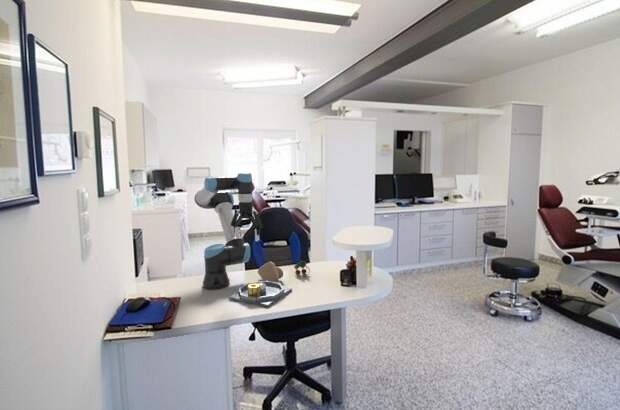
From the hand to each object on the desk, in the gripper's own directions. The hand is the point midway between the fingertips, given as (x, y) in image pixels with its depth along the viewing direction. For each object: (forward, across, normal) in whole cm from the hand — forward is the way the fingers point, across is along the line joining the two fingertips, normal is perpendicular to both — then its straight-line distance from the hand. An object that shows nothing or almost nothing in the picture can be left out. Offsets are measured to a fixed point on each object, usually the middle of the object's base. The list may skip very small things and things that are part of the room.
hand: (247, 239), depth 184 cm
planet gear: (+27, +11, -10) cm, 31 cm away
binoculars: (+29, +15, +34) cm, 47 cm away
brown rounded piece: (+29, +3, +18) cm, 34 cm away
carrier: (+28, +11, -4) cm, 31 cm away
